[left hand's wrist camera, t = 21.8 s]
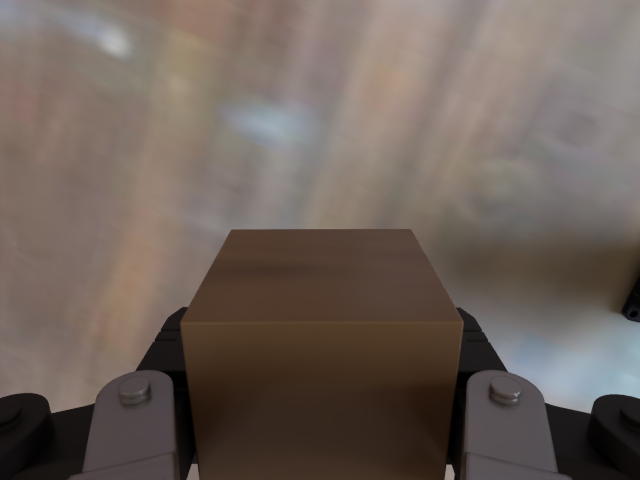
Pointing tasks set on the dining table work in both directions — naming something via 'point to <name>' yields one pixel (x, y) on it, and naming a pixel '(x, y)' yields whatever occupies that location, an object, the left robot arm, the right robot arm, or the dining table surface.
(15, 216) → the dining table surface
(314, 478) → the brick
